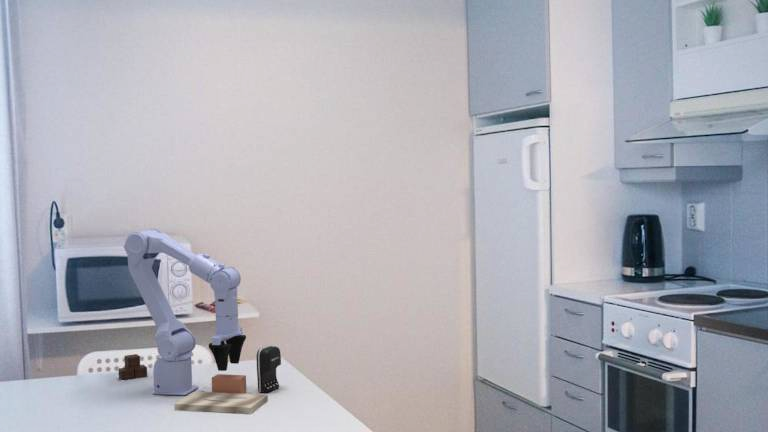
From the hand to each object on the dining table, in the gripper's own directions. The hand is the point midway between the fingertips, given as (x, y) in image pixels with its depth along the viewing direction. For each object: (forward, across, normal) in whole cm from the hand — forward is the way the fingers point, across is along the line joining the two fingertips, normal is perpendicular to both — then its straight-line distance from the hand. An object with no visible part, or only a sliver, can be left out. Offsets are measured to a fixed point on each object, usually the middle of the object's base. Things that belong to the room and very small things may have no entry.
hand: (228, 366), depth 206 cm
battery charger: (+8, +6, -9) cm, 13 cm away
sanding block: (+8, 0, 0) cm, 8 cm away
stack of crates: (+8, +13, +36) cm, 40 cm away
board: (+7, -9, -2) cm, 12 cm away
